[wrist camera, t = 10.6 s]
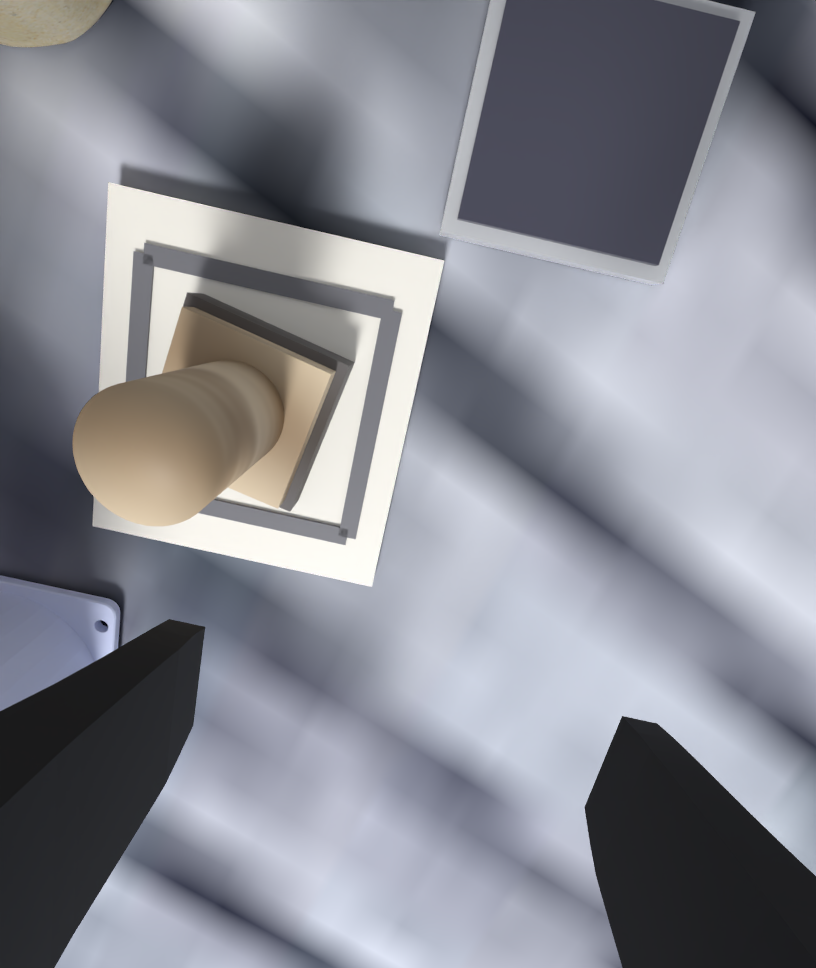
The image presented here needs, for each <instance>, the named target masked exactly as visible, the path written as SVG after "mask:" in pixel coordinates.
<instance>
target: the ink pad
mask: <svg viewBox="0 0 816 968" xmlns="http://www.w3.org/2000/svg"><path fill="white" fill-rule="evenodd" d="M755 13H756V12H753V11H749V10H745V9H741V8H737V7H733V6H729V5H725V4H721V3H717V2H713V1H709V0H490V4H489V9H488V13H487V18H486V22H485V27H484V32H483V36H482V41H481V45H480V50H479V55H478V59H477V64H476V68H475V73H474V78H473V82H472V87H471V91H470V96H469V101H468V105H467V110H466V115H465V119H464V124H463V128H462V133H461V138H460V142H459V147H458V151H457V156H456V161H455V165H454V170H453V174H452V179H451V184H450V188H449V193H448V197H447V202H446V207H445V211H444V216H443V220H442V225H441V230H440V236H444V237H448V238H452V239H456V240H461V241H465V242H469V243H473V244H478V245H482V246H486V247H491V248H495V249H499V250H503V251H508V252H512V253H516V254H520V255H525V256H529V257H533V258H538V259H542V260H546V261H550V262H555V263H559V264H563V265H568V266H572V267H576V268H580V269H585V270H589V271H593V272H597V273H602V274H606V275H610V276H615V277H619V278H623V279H627V280H632V281H636V282H640V283H644V284H649V285H657V284H663V283H664V280H665V277H666V274H667V271H668V268H669V265H670V262H671V259H672V256H673V254H674V251H675V248H676V245H677V242H678V239H679V236H680V233H681V230H682V227H683V224H684V221H685V218H686V215H687V212H688V209H689V207H690V204H691V201H692V198H693V195H694V192H695V189H696V186H697V183H698V180H699V177H700V174H701V171H702V168H703V165H704V162H705V160H706V157H707V154H708V151H709V148H710V145H711V142H712V139H713V136H714V133H715V130H716V127H717V124H718V121H719V118H720V115H721V112H722V110H723V107H724V104H725V101H726V98H727V95H728V92H729V89H730V86H731V83H732V80H733V77H734V74H735V71H736V68H737V65H738V63H739V60H740V57H741V54H742V51H743V48H744V45H745V42H746V39H747V36H748V33H749V30H750V27H751V24H752V21H753V18H754V15H755Z"/></svg>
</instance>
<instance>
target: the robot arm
mask: <svg viewBox="0 0 816 968" xmlns="http://www.w3.org/2000/svg"><path fill="white" fill-rule="evenodd" d="M101 620H102V621H104V622H106V623H107V624H108V627H106V626H104V625H103V624H102V623H101ZM119 626H120V608H119V606H118V605H117V603H115V602H114V601H113V600H111V599H108V598H104V597H99V596H94V595H90V594H85V593H80V592H76V591H71V590H66V589H62V588H57V587H52V586H48V585H43V584H38V583H34V582H29V581H24V580H20V579H15V578H10V577H6V576H1V575H0V968H54V967H55V966H56V964H57V962H58V960H59V959H60V957H61V955H62V953H63V952H64V950H65V948H66V946H67V945H68V943H69V941H70V939H71V938H72V936H73V934H74V933H75V931H76V929H77V928H78V926H79V924H80V923H81V921H82V920H83V918H84V916H85V915H86V913H87V911H88V910H89V908H90V907H91V905H92V903H93V902H94V900H95V898H96V897H97V895H98V894H99V892H100V890H101V889H102V887H103V885H104V884H105V882H106V881H107V879H108V877H109V876H110V874H111V872H112V871H113V869H114V868H115V866H116V864H117V863H118V861H119V860H120V858H121V856H122V855H123V853H124V851H125V850H126V848H127V847H128V845H129V843H130V842H131V840H132V838H133V837H134V835H135V834H136V832H137V830H138V829H139V827H140V825H141V824H142V822H143V820H144V819H145V817H146V815H147V814H148V812H149V811H150V809H151V807H152V806H153V804H154V802H155V801H156V799H157V797H158V796H159V794H160V792H161V791H162V789H163V787H164V786H165V784H166V782H167V780H168V778H169V776H170V773H171V771H172V769H173V767H174V765H175V763H176V761H177V759H178V757H179V755H180V753H181V750H182V748H183V746H184V744H185V742H186V740H187V737H188V735H189V733H190V731H191V729H192V727H193V722H194V714H195V706H196V697H197V689H198V681H199V673H200V664H201V656H202V648H203V640H204V632H205V627H203V626H198V625H194V624H189V623H184V622H180V621H175V620H170V619H169V620H167V621H165V622H163V623H161V624H160V625H158V626H156V627H154V628H152V629H151V630H149V631H147V632H146V633H144V634H142V635H140V636H139V637H137V638H135V639H133V640H132V641H130V642H128V643H126V644H125V645H123V646H121V647H119V648H118V641H119ZM585 813H586V819H587V826H588V832H589V839H590V845H591V850H592V856H593V861H594V867H595V872H596V876H597V880H598V884H599V887H600V891H601V895H602V898H603V902H604V905H605V909H606V912H607V916H608V919H609V923H610V926H611V930H612V933H613V936H614V940H615V943H616V947H617V950H618V953H619V957H620V960H621V964H622V967H623V968H816V876H815V875H814V874H813V873H812V872H811V871H810V870H809V869H807V868H806V867H805V866H804V865H803V864H802V863H801V862H800V861H799V860H798V859H797V858H796V857H795V856H794V855H793V854H792V853H791V852H789V851H788V850H787V849H786V848H785V847H784V846H783V845H782V844H781V843H780V842H779V841H778V840H777V839H776V838H775V837H774V836H773V835H772V834H771V833H770V832H769V831H768V830H767V829H766V828H765V827H763V826H762V825H761V824H760V823H759V822H758V821H757V820H756V819H755V818H754V817H753V816H752V815H751V814H750V813H749V812H748V811H747V810H746V809H745V808H744V807H743V806H742V805H741V804H740V803H739V802H738V801H737V800H736V799H735V798H734V797H733V796H732V795H731V794H730V793H729V792H728V791H727V790H726V789H725V788H724V787H723V786H722V785H721V784H720V783H719V782H718V781H717V780H716V779H715V778H714V777H713V776H712V775H711V774H710V773H709V772H708V771H707V770H706V769H705V768H704V767H703V766H702V765H701V764H700V763H699V762H698V761H697V760H696V759H695V758H694V757H693V756H692V755H691V754H690V753H688V752H687V751H686V750H685V749H684V748H683V747H682V746H681V745H680V744H679V743H678V742H677V741H676V740H675V739H674V738H673V737H672V736H671V735H669V734H668V733H667V732H666V731H665V730H664V729H663V728H661V727H660V726H659V725H658V724H656V723H652V722H647V721H642V720H638V719H633V718H628V717H624V716H622V718H621V720H620V723H619V725H618V728H617V730H616V733H615V735H614V737H613V740H612V742H611V745H610V747H609V750H608V752H607V754H606V757H605V759H604V762H603V764H602V767H601V769H600V771H599V774H598V776H597V779H596V781H595V783H594V786H593V788H592V791H591V793H590V796H589V798H588V800H587V803H586V805H585Z"/></svg>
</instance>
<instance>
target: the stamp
mask: <svg viewBox="0 0 816 968" xmlns="http://www.w3.org/2000/svg"><path fill="white" fill-rule="evenodd" d="M354 363H355V362H353V361H351V360H349V359H346V358H344V357H342V356H340V355H338V354H335V353H333V352H331V351H329V350H327V349H324V348H322V347H320V346H318V345H316V344H313V343H311V342H309V341H307V340H305V339H302V338H300V337H298V336H296V335H294V334H291V333H289V332H287V331H285V330H283V329H280V328H278V327H276V326H274V325H272V324H269V323H267V322H265V321H263V320H261V319H258V318H256V317H254V316H252V315H250V314H248V313H245V312H243V311H241V310H239V309H237V308H234V307H232V306H230V305H228V304H226V303H223V302H221V301H219V300H217V299H215V298H212V297H210V296H208V295H206V294H202V293H189V292H187V294H186V298H185V301H184V304H183V307H182V308H181V312H180V315H179V318H178V321H177V325H176V328H175V331H174V335H173V338H172V341H171V345H170V348H169V351H168V355H167V358H166V361H165V365H164V368H163V371H162V374H158V375H154V376H149V377H145V378H141V379H136V380H132V381H128V382H124V383H119V384H116V385H113V386H110V387H108V388H106V389H104V390H102V391H100V392H99V393H97V394H96V395H94V396H93V397H92V398H91V399H90V400H89V401H88V402H87V403H86V405H85V406H84V407H83V409H82V410H81V412H80V414H79V416H78V418H77V421H76V424H75V427H74V432H73V444H72V445H73V455H74V459H75V464H76V467H77V469H78V472H79V474H80V476H81V478H82V480H83V482H84V484H85V485H86V487H87V488H88V490H89V491H90V492H91V494H92V495H93V496H94V497H95V498H96V499H97V500H98V501H99V502H100V503H101V504H102V505H103V506H104V507H106V508H107V509H108V510H109V511H111V512H113V513H114V514H116V515H117V516H119V517H121V518H123V519H125V520H128V521H131V522H133V523H136V524H141V525H145V526H169V525H174V524H178V523H181V522H183V521H186V520H188V519H190V518H191V517H193V516H195V515H196V514H197V513H199V512H200V511H201V510H202V509H203V508H204V507H206V506H207V505H208V504H209V503H210V502H211V501H212V500H214V499H215V498H216V497H217V496H218V495H219V494H221V493H222V492H223V491H224V490H225V489H226V488H230V489H233V490H235V491H237V492H240V493H242V494H244V495H247V496H249V497H251V498H254V499H256V500H258V501H261V502H263V503H265V504H268V505H270V506H272V507H275V508H277V509H278V508H279V507H280V508H282V509H284V510H287V511H289V512H290V511H291V510H292V509H293V507H294V506H295V504H296V503H297V502H298V500H299V498H300V496H301V493H302V491H303V488H304V486H305V483H306V481H307V478H308V476H309V474H310V471H311V469H312V466H313V464H314V461H315V459H316V456H317V454H318V451H319V449H320V447H321V444H322V442H323V439H324V437H325V434H326V432H327V429H328V427H329V424H330V422H331V420H332V417H333V415H334V412H335V410H336V407H337V405H338V402H339V400H340V398H341V395H342V393H343V390H344V388H345V385H346V383H347V380H348V378H349V375H350V373H351V371H352V368H353V366H354Z"/></svg>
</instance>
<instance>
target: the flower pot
mask: <svg viewBox="0 0 816 968" xmlns="http://www.w3.org/2000/svg"><path fill="white" fill-rule="evenodd" d="M111 1H112V0H0V44H3V45H7V46H11V47H40V46H49V45H56V44H63V43H67V42H71V41H73V40H75V39H76V38H78V37H79V36H81V35H82V34H84V33H85V32H86V31H87V30H88V29H90V28H91V27H92V26H93V25H94V24H95V23H96V22H97V21H98V20H99V19H100V17H101V16H102V15H103V13H104V12H105V11H106V9H107V8H108V6H109V5H110V3H111Z"/></svg>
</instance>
